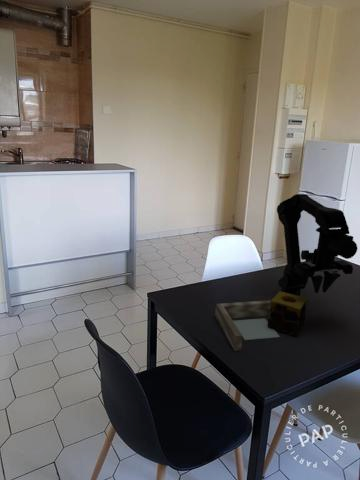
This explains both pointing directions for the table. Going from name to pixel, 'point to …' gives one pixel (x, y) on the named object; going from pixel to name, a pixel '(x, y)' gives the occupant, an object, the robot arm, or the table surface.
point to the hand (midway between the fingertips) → (320, 292)
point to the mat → (255, 329)
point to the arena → (239, 311)
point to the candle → (287, 313)
